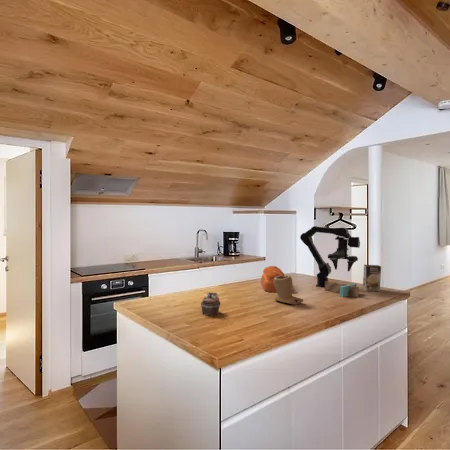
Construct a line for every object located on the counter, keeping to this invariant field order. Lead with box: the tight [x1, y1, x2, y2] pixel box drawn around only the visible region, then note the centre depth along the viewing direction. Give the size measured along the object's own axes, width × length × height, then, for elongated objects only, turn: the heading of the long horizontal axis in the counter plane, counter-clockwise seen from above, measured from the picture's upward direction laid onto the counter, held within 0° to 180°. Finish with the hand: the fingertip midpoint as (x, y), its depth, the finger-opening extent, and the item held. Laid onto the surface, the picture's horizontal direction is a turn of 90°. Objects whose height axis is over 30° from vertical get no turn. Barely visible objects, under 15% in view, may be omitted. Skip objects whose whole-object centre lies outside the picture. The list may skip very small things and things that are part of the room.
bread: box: [260, 265, 286, 293], centre depth 232 cm, size 16×31×13 cm, turn 179°
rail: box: [324, 280, 359, 298], centre depth 214 cm, size 22×2×6 cm, turn 39°
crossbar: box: [339, 283, 358, 298], centre depth 210 cm, size 15×2×6 cm, turn 129°
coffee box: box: [362, 264, 382, 292], centre depth 224 cm, size 9×6×16 cm
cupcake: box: [200, 292, 221, 316], centre depth 171 cm, size 10×10×10 cm
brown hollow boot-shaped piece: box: [273, 274, 304, 306], centre depth 192 cm, size 15×12×15 cm
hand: (342, 270), depth 227 cm, fingers open, 9 cm apart
